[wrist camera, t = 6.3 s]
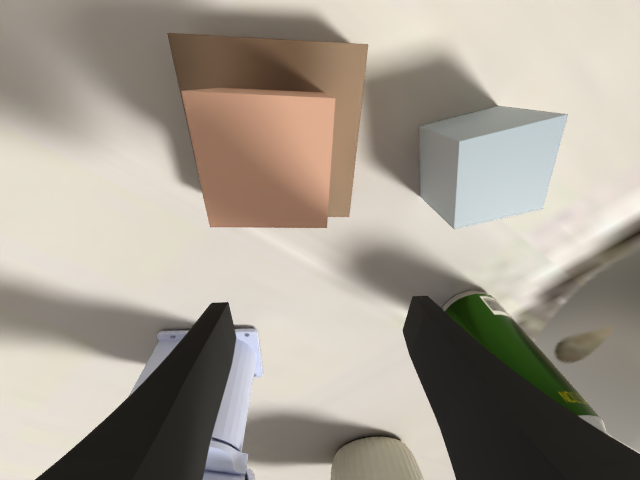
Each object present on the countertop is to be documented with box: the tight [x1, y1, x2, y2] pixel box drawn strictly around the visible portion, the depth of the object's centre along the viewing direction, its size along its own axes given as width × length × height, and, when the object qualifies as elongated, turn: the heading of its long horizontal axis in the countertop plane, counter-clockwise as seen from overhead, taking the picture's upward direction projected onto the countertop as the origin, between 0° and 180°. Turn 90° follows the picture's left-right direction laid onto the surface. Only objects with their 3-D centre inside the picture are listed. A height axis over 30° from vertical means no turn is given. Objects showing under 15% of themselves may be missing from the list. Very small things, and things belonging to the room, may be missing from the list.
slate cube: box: [419, 106, 568, 229], centre depth 15 cm, size 5×5×5 cm
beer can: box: [443, 291, 614, 439], centre depth 21 cm, size 5×5×12 cm
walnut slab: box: [168, 33, 368, 217], centre depth 15 cm, size 9×9×2 cm
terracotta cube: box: [181, 88, 335, 228], centre depth 12 cm, size 5×5×5 cm
